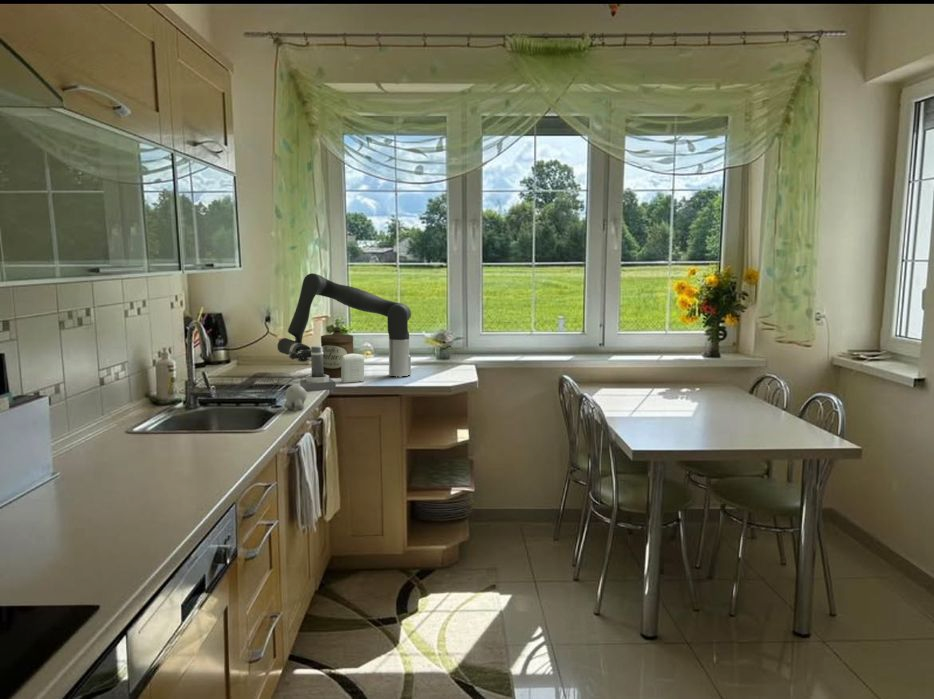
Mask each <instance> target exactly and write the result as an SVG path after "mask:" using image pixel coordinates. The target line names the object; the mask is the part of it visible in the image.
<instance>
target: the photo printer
mask: <svg viewBox="0 0 934 699" xmlns="http://www.w3.org/2000/svg"><path fill="white" fill-rule="evenodd" d="M340 380H341V384H342V383H343V384H347V383H356V382H357V383H358V382H359V381H361V382H364V381H365V356H364V354H360V353H354V354H347V355H344V356H342V359H341V377H340ZM359 383H360V382H359Z"/></svg>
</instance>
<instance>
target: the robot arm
mask: <svg viewBox="0 0 934 699" xmlns="http://www.w3.org/2000/svg"><path fill="white" fill-rule="evenodd" d="M316 295H317V296H322V297H325V298H330V299H332V300H335V301H337V302H339V303H341V304H343V305H345V306H346V307H348V308H352V309H354V310H356V311H361V312H365V313H366V312H367V313H372V314H376V315H377V314H378V315H382V316H384V317H386V318H387V333H388V376H389V377H390V376H396V377H395V378H398V377H397V376H408V375H412V368H411V367H412V355H410V333H409V327H408V326H409V324H408V321H409V320H410V319H411V316H412V311H411V309H410V307H409V306H408V305H407V304H405V303H401V302H396V301H392V300H388V299H385V298H383V297H380V296H379V295H375V294H373V293H371V292H368V291H366V290H362V289H360V288H357V287H354V286H349V285H345V284H344V285H343V284H339V283H336V282H334V281H331V280H330V279H327V278H325V277H324V276H321V275H319V274H317V273H308V274H306V275H305V277H304V278H303V280H302V285H301V290H300V294H299V298H298V301H297V304H296V308H295V311H294V312H293V313H294V314H293V316H292V318H291V321H290V324H289V326H288V328H287V332H288V333H289V334H290V335H292V337H294V340H292V339H290V338H286V337H283V338H281V339H280V340H279V341H278V342H277V351H278V352H279V353H282V354H285V355H288V358H289V359H290V360H296V361H299V362H301V363H303V362H307V361H308V360H311V347H310V346H308V345H307V344H304V343H302V342H303V337H304V332H305V330H306V328H307V325H308V322H309V319H310V313H311V312H310V311H311V308H312V303H313V301H314V299H315V297H316ZM323 352H324V351H323ZM324 353H325V352H324ZM324 357H325V356H324V354H323V358H324ZM408 377H409V376H408Z"/></svg>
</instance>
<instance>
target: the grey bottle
mask: <svg viewBox="0 0 934 699" xmlns="http://www.w3.org/2000/svg"><path fill="white" fill-rule="evenodd" d="M310 349H311V358H310V362H311V367H310V368H311V375H312V377H313V378H320V377H324V369H323V354H324V352H323V347H322V346H321V345H316V346H311V347H310Z"/></svg>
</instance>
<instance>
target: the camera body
mask: <svg viewBox="0 0 934 699" xmlns="http://www.w3.org/2000/svg"><path fill="white" fill-rule="evenodd" d="M305 377H306V378H303V377H302V378H301V379H300V380H299V386H301V387H303V388H304V389H305V391H306V392H313V391H314V392H315V391H324V390H336V388H337V387H336V380H334V379H331V378H330V377H329V375H324V377H320V378H313V377H312V374H309V375H306V376H305Z"/></svg>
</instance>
